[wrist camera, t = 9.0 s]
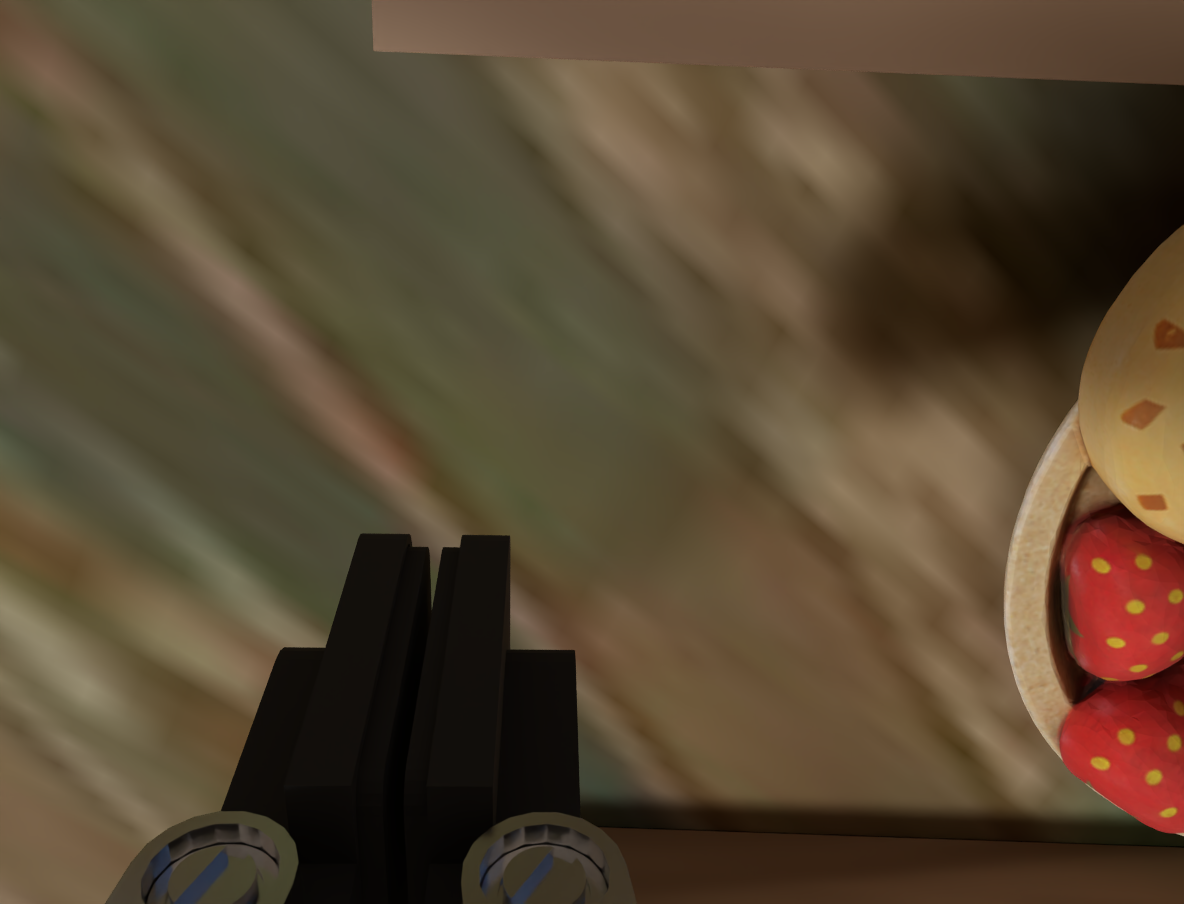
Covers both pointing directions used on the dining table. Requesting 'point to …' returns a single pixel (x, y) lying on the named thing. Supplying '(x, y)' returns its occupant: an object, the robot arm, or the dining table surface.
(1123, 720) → the toy food set
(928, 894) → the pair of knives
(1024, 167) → the dining table surface
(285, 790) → the robot arm
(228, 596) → the dining table surface
